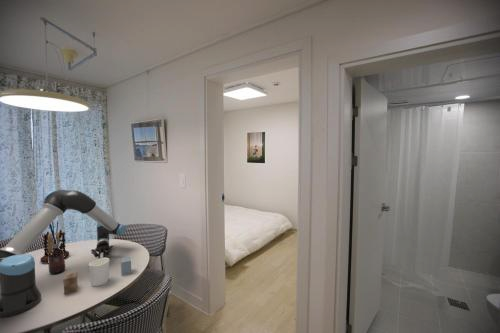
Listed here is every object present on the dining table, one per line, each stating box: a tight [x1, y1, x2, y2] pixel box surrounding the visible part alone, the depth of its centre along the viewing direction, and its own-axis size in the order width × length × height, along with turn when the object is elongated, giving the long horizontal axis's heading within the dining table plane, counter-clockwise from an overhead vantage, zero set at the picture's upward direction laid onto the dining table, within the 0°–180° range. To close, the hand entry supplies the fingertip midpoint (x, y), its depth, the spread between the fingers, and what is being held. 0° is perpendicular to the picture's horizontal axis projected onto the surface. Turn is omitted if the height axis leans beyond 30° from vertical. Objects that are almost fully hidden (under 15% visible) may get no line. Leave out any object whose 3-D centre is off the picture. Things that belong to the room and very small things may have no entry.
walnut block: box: [63, 272, 78, 295], centre depth 116 cm, size 5×5×8 cm
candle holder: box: [88, 257, 111, 287], centre depth 123 cm, size 10×10×12 cm
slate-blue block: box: [120, 257, 132, 276], centre depth 133 cm, size 5×5×8 cm
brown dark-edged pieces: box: [40, 229, 70, 265], centre depth 149 cm, size 15×15×20 cm
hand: (101, 259), depth 136 cm, fingers closed
